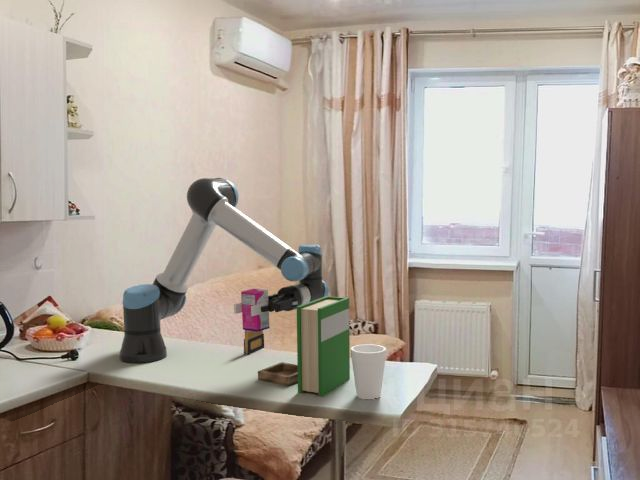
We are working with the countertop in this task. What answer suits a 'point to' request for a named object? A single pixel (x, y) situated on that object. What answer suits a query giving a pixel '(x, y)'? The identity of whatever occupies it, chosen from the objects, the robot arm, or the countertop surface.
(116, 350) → the countertop surface
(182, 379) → the countertop surface
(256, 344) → the ammunition clip
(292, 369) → the shallow wooden tray
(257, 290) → the supplement box
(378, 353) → the foam cup
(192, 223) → the robot arm
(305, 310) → the hardback book
